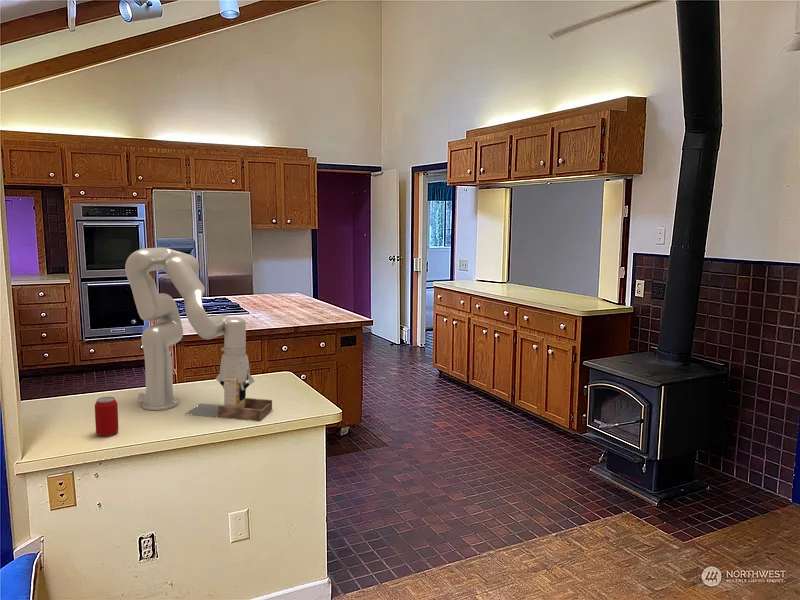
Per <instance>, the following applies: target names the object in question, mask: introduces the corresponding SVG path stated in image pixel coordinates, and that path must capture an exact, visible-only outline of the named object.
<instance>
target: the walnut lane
mask: <svg viewBox="0 0 800 600" xmlns="http://www.w3.org/2000/svg"><path fill="white" fill-rule="evenodd" d="M271 410H272V411H273V400H272V399H266V398H264V399H263V398H251V397H250V398H249V397H245V407H244V408H238V407H226V406H218V416H217V418H220V417H222V419H231V418H236V419H235V420H245V421H254V422H261V421H262V420H263V419H264V418H265V417H266V416H267V415H269V414H270V413H271V412H270V411H271Z"/></svg>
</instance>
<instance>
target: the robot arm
mask: <svg viewBox="0 0 800 600" xmlns="http://www.w3.org/2000/svg"><path fill="white" fill-rule="evenodd" d="M124 270H125V274H126V278H127V280H128V282H129V285H130V288H131V291H132V295H133V300H134V304H135V306H136V310H137V313H138V315H139V318H140V319H141V320H143V321H144V322H153V321H157V323H155V324H152V325H149V326H147V327H145V329H144V330H143V332H142V333H141V338H140V339H141V344H142V349H143V354H144V368H145V369H144V370H145V393H144V392H139V393H138V395H137V400H143V402H142V403H141V406H142V407H141V408H142V409H144V410H147V411H164V410H169V409H173V408H174V407H176V406H177V405H178V403H179V402H178V401H179V400H177V399H176V398H174V387H173V385H174V384H173V383H174V382H173V380H174V379H173V357H172V354H171V351H170V348H169V347H170V346H173V345H175V344H177V343H179V342H180V341H181V340H182V339H183V337H184V327H183V324H182V323H183V322H182V320H181V316H180V313H179V309H178V305H177V303H176V301H175V300H174V298H173V297H172V296H171V295H170V294H168V293H159V291H158V288H157V285H156V282H155V280H154V278H153V277H152V276H151V274H150V272H153V271H160V270H163V271H165V273H166V275H167V276H168V278H169V280H170V281H171V282H172V284H173V286H174V287H175V288H176V289H177V292H178V293H179V295H180V297H182V299H183V302H184V310H185V315H186V318H187V320H188V323H189V324H190V326H191V327H192V329H193V330H194V331H195V333H196V334H197V335H198V336H199V337H200V338H201V339H203V340H212V339H214V338H217V337H221V336H223V335H224V346H222V347H221V348H220V351H221V352H223V354H222V355H221V359H220V366H219V374H218V375H217V376H216V377H215V380H216V381H217V382H218V383H219V384H220V385H221V386H222V388H223V389H224V378H235V379H237V383H240V387H241V390H240V401H242V400H243V399H245V398H247V397H246V394H247V390H246V389H247V388H248V387H249V386H250V385H252V384H253V383H254V382H255V379H254V378H253V376H252V375H251V374H250V362H249V356H248V354H247V353H246V351H247V349H246V348H247V347H246V346H247V345H246V344H247V343H246V342H247V341H246V340H247V335H246V334H247V332H246V331H247V330H246V329H247V325H246V324H247V323H246V320H245V319H244V318H242V317H235V316H234V317H231V316H227V315H222V314H217V315H213V316H209V315H208V313H207V311H206V310H205V308H204V307H203V296H204V293H205V291H206V288H205V286H204V284H203V283H202V281H201V280H200V279H199V277H198V275H197V274H198V272H199V270H200V263H199V261H198V259H197V258H196V257H195V256H193V255H191V254H188V253H185V252H183V251H177V250H174V249H171V248H167V247H149V248H148V247H147V248H141V249H137V250H135V251H134V252H132V253H131V254H130V255H128V257H127V259H126V261H125V267H124ZM247 381H248V382H247Z"/></svg>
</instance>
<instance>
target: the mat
mask: <svg viewBox="0 0 800 600" xmlns="http://www.w3.org/2000/svg"><path fill="white" fill-rule="evenodd" d="M197 405H198V407H196V406H195V408H194V407H193V408H191V409H189V410H188V411H187V412H184V415H186V414H190V415H189V416H197V415H202V416H201V417H208V416H212V417H211V418H217V417H218V416H217V415H218V406H224V404H223V405H222V404H215V403H214V404H212V403H211V404H210V403H202V402H201V403H199V404H197ZM191 414H192V415H191Z"/></svg>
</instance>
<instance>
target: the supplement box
mask: <svg viewBox="0 0 800 600" xmlns="http://www.w3.org/2000/svg"><path fill="white" fill-rule="evenodd" d="M223 389H224V391H223V393H224V394H223V396H224V398H223V405H224V406H226V407H238V408H244V407H245V399H243V400H242V401H240V390H241V387H240V383H237V379H235V378H224V388H223Z"/></svg>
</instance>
